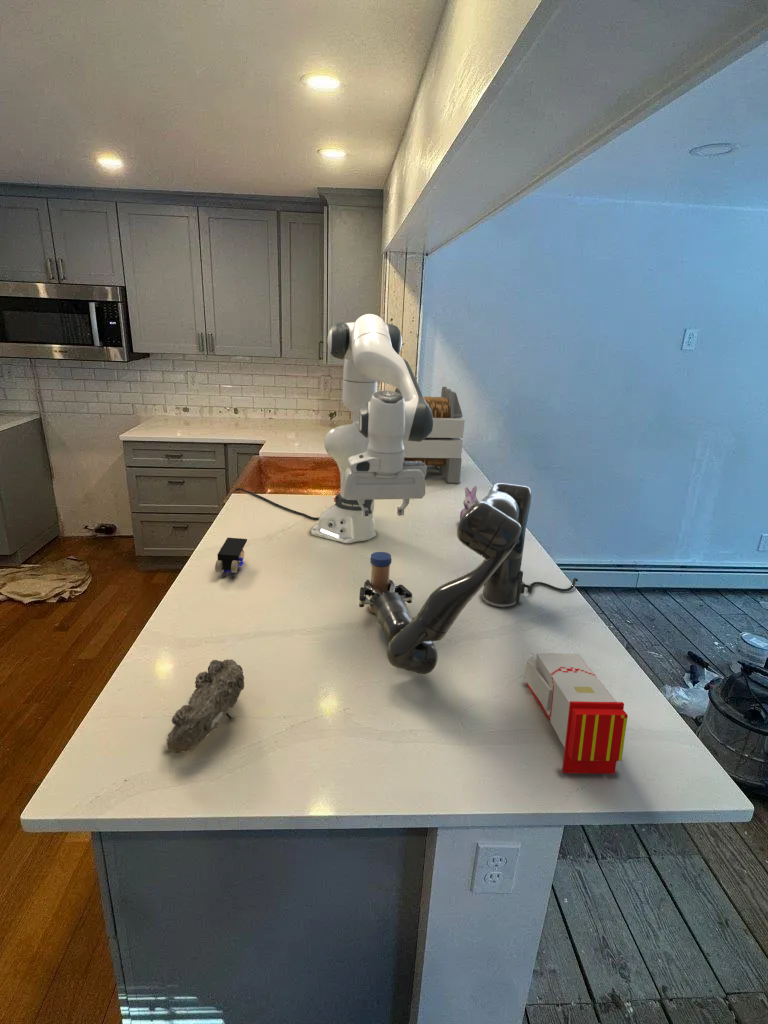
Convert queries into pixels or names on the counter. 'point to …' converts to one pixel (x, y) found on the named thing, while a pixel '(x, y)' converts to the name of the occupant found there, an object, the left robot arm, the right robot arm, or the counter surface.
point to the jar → (380, 579)
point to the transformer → (441, 437)
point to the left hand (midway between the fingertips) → (382, 515)
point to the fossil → (206, 705)
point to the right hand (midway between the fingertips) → (377, 582)
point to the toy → (578, 711)
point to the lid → (380, 559)
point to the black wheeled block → (230, 556)
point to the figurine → (469, 500)
